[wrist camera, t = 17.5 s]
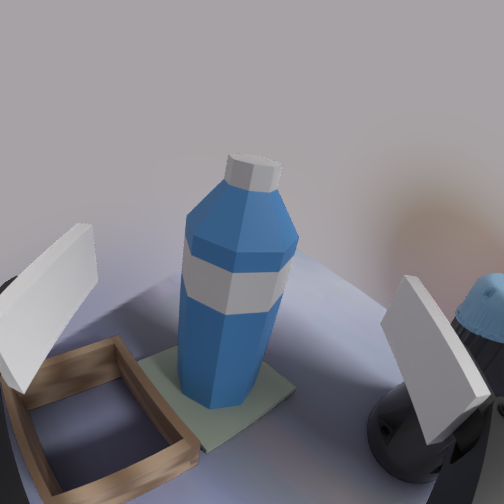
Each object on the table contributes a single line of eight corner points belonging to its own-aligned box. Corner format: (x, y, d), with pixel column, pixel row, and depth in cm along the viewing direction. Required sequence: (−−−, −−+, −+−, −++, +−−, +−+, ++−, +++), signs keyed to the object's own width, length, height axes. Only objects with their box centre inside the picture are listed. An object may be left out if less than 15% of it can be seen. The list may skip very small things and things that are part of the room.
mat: (222, 329, 42) (222, 324, 42) (294, 391, 34) (296, 387, 34) (136, 367, 33) (135, 361, 32) (206, 453, 25) (206, 450, 24)
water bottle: (185, 343, 37) (207, 142, 26) (256, 357, 37) (308, 162, 26) (167, 400, 29) (176, 159, 18) (252, 416, 29) (326, 188, 18)
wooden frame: (124, 368, 32) (118, 334, 29) (197, 464, 24) (200, 441, 21) (19, 405, 22) (-1, 373, 19) (72, 523, 13) (47, 510, 11)
